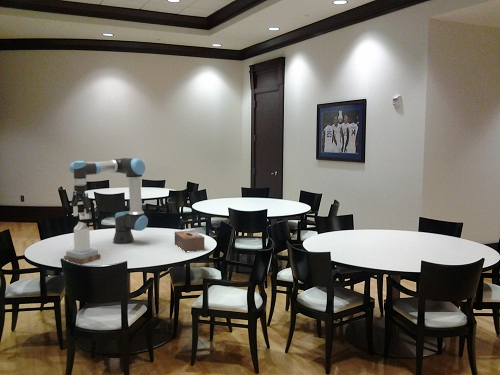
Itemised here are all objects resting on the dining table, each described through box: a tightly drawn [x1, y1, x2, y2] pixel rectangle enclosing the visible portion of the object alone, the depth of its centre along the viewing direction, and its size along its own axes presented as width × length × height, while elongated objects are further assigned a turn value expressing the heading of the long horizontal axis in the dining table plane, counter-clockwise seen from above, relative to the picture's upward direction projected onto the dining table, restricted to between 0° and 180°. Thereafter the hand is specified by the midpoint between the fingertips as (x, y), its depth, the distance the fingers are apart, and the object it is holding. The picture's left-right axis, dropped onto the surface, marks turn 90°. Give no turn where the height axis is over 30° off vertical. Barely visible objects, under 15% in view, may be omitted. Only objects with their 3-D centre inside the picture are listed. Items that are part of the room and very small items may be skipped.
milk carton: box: [73, 221, 91, 252], centre depth 301 cm, size 7×7×19 cm
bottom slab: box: [63, 253, 101, 265], centre depth 303 cm, size 16×16×3 cm
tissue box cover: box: [174, 229, 205, 253], centre depth 339 cm, size 26×14×10 cm, turn 26°
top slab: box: [65, 248, 99, 259], centre depth 302 cm, size 14×14×3 cm
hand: (81, 217), depth 300 cm, fingers open, 13 cm apart
